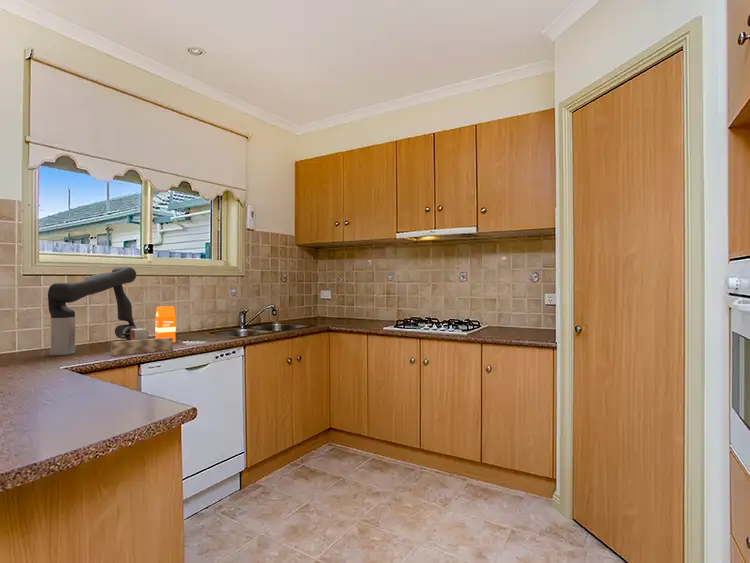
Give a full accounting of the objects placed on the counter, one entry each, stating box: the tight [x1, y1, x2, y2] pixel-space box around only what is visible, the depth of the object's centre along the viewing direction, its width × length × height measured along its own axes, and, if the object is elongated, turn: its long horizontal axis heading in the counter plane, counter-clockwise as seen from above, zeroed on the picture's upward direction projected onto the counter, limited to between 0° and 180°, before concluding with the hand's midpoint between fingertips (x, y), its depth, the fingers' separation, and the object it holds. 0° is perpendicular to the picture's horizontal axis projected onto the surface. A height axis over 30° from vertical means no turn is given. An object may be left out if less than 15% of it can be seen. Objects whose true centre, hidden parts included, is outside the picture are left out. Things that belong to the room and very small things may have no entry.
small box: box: [130, 327, 148, 340], centre depth 209 cm, size 8×6×10 cm
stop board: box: [110, 337, 174, 357], centre depth 204 cm, size 26×3×6 cm, turn 129°
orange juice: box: [154, 305, 177, 343], centre depth 238 cm, size 8×9×20 cm
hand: (138, 336), depth 213 cm, fingers closed
